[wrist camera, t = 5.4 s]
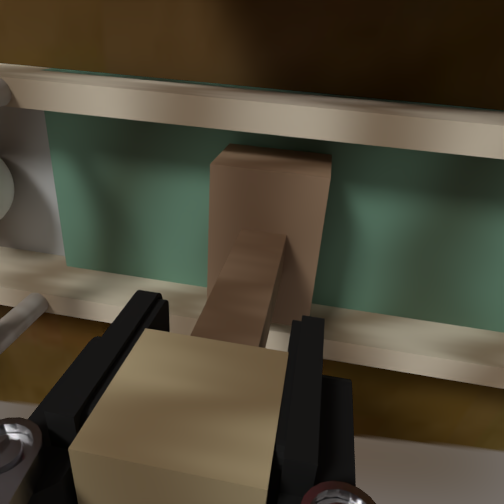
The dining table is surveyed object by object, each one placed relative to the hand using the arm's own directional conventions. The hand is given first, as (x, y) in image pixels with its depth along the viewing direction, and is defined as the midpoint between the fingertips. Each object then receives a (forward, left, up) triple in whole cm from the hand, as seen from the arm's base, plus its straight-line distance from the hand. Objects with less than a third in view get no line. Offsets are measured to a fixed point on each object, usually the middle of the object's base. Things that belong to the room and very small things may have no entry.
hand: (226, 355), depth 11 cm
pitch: (+3, 0, -10) cm, 10 cm away
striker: (0, 0, -9) cm, 9 cm away
